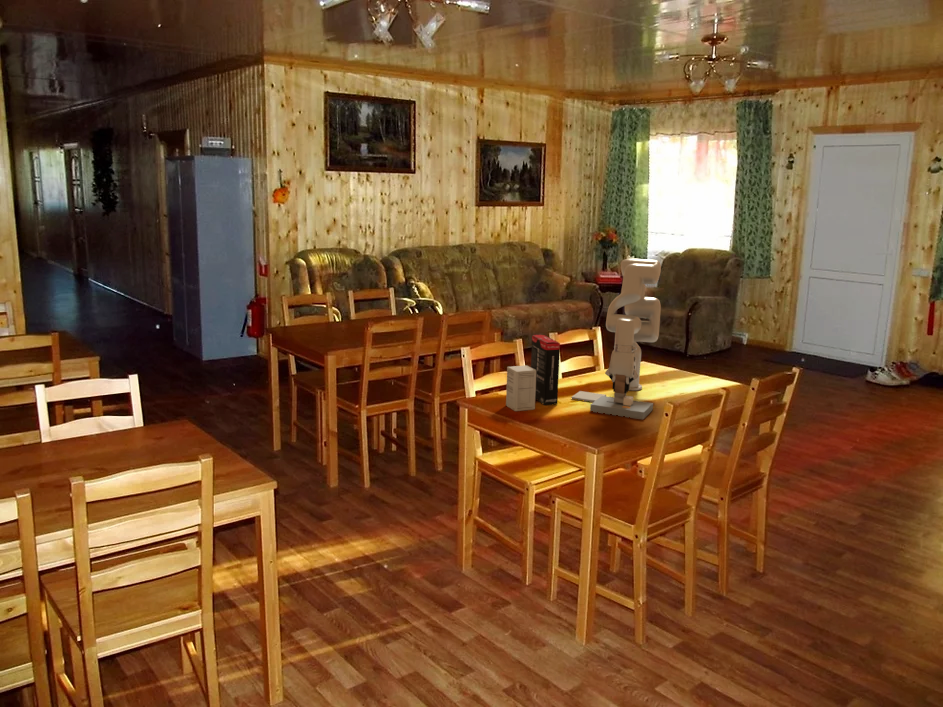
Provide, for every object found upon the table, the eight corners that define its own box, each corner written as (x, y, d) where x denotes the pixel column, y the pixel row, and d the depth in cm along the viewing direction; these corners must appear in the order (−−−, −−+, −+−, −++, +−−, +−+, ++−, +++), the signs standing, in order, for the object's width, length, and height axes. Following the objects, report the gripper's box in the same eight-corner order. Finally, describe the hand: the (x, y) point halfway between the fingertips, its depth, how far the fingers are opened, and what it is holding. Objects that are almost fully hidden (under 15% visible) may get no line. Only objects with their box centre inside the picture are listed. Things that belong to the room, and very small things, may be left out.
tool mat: (579, 393, 359) (580, 391, 358) (606, 396, 353) (606, 394, 353) (571, 399, 348) (571, 397, 348) (597, 403, 343) (598, 401, 343)
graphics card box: (558, 405, 338) (562, 341, 332) (543, 406, 336) (546, 342, 330) (542, 394, 354) (545, 334, 348) (528, 395, 352) (531, 334, 346)
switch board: (601, 402, 344) (602, 395, 344) (652, 410, 335) (653, 402, 334) (590, 411, 330) (590, 404, 329) (643, 419, 321) (643, 412, 320)
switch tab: (625, 402, 333) (626, 395, 333) (632, 403, 332) (633, 396, 331) (623, 404, 330) (623, 397, 329) (630, 405, 328) (630, 398, 328)
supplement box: (525, 403, 339) (527, 364, 335) (535, 409, 330) (537, 369, 327) (505, 405, 335) (506, 366, 331) (514, 411, 327) (516, 371, 323)
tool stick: (616, 399, 335) (618, 367, 332) (625, 401, 333) (628, 368, 330) (613, 401, 331) (616, 368, 328) (623, 403, 330) (625, 370, 327)
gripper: (646, 349, 327) (642, 392, 331) (606, 344, 334) (603, 387, 338) (641, 352, 321) (638, 396, 325) (601, 347, 328) (598, 391, 332)
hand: (620, 391), depth 331 cm, fingers closed on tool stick, 4 cm apart
